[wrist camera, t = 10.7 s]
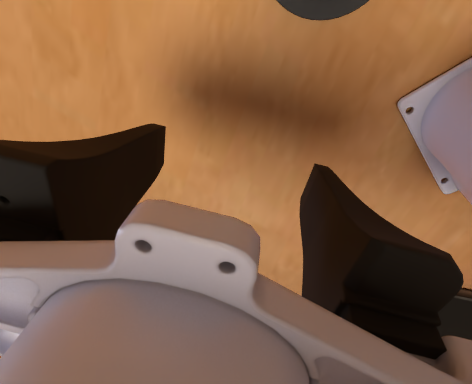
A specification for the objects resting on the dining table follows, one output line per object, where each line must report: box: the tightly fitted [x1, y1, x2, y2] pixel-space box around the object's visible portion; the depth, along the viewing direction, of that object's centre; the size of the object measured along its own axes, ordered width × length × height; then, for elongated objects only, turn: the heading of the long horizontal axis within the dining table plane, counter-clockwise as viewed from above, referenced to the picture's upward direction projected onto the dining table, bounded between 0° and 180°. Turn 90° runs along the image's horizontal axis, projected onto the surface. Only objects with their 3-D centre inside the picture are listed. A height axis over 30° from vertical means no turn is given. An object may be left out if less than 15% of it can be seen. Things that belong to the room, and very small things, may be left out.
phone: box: [436, 289, 472, 340], centre depth 33 cm, size 8×1×15 cm
